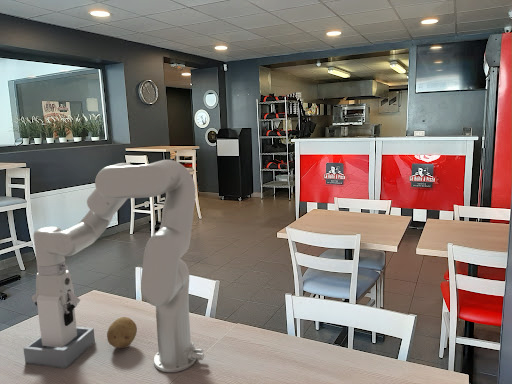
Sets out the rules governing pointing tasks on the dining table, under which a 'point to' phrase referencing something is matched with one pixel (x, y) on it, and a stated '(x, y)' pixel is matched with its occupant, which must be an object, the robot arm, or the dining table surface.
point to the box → (59, 350)
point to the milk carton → (54, 322)
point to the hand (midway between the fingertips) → (58, 322)
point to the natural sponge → (122, 332)
